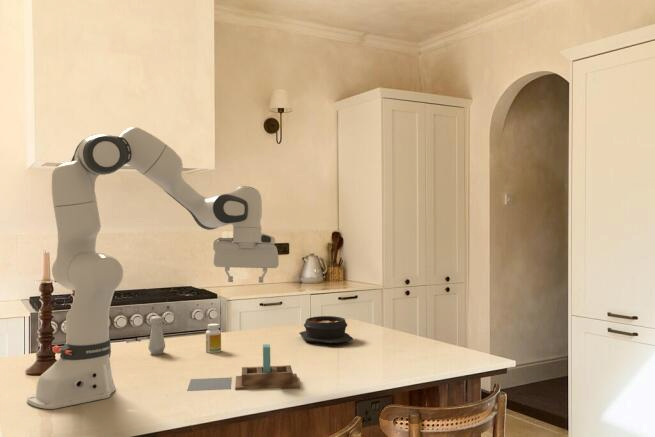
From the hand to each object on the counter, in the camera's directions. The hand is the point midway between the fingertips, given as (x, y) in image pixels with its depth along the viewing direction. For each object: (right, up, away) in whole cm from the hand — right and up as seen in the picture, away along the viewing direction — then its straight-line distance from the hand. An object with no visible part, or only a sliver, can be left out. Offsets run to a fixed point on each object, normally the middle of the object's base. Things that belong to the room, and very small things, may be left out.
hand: (245, 282), depth 190 cm
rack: (+8, -28, -14) cm, 32 cm away
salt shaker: (-35, -28, +26) cm, 52 cm away
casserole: (+25, -27, +45) cm, 58 cm away
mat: (-8, -28, -15) cm, 33 cm away
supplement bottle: (-15, -28, +28) cm, 42 cm away
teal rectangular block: (+8, -27, -13) cm, 31 cm away
